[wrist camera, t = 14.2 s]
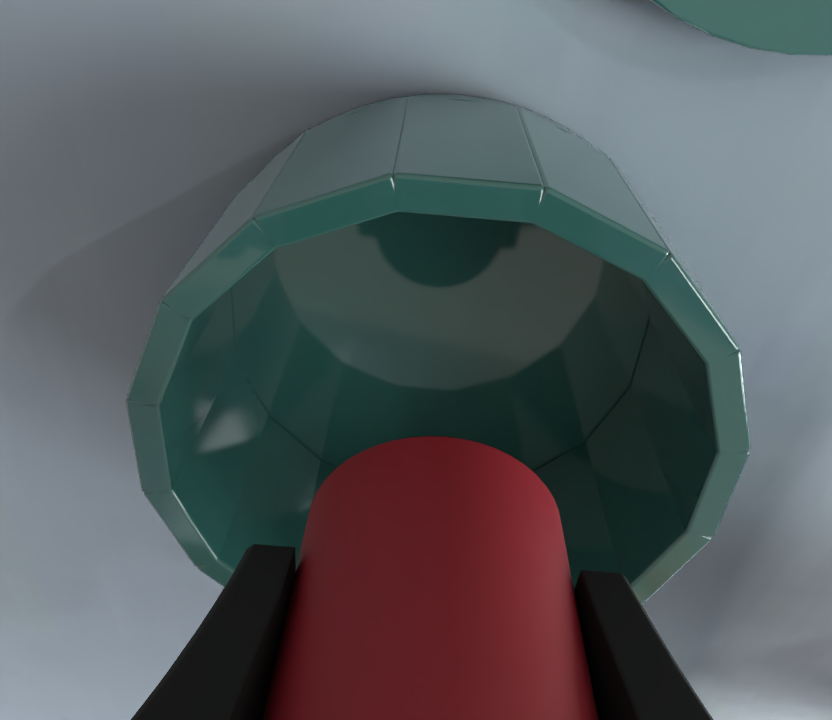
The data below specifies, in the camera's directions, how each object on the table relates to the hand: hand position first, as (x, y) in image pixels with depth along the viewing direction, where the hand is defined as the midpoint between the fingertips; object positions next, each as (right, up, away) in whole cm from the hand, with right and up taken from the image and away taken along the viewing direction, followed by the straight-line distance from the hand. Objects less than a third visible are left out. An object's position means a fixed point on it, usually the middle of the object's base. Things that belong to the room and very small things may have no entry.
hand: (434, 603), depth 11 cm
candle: (0, +1, +1) cm, 1 cm away
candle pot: (0, +5, +7) cm, 8 cm away
